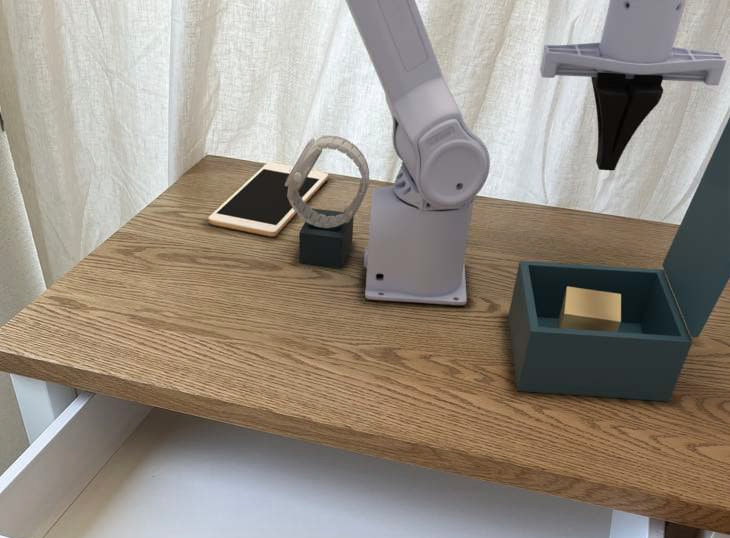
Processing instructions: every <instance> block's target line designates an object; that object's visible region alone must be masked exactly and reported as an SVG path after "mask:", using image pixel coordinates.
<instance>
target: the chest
mask: <svg viewBox="0 0 730 538" xmlns="http://www.w3.org/2000/svg"><path fill="white" fill-rule="evenodd" d="M517 266H518V267H517V272H516V277H515V281H514V287H513V291H512V297H511V301H510V306H509V310H508V316H507V321H508V329H509V337H510V345H511V353H512V362H513V369H514V378H515V385H516V392H525V393H526V392H527V393H539V394H540V393H542V394H553V395H554V394H555V395H569V396H583V397H597V398H610V399H612V398H613V399H614V398H615V399H625V400H626V399H627V400H640V401H641V400H642V401H657V402H670V399H671V397H672V395H673V392H674V390H675V387H676V385H677V382H678V379H679V377H680V375H681V372H682V370H683V368H684V364H685V362H686V359H687V357H688V354H689V352H690V349H691V347H692V345H693V340H692V339H693V338H692V337H691V336H690V333H689V331H688V328H687V326H686V323H685V321H684V318H683V316H682V313H681V311H680V308H679V306H678V303H677V301H676V298H675V296H674V293H673V291H672V288H671V286H670V283H669V281H668V278H667V276H666V273H665V271H664V268H663V269H662V268H648V267H647V268H645V267H631V266H630V267H629V266H616V265H615V266H614V265H599V264H597V265H596V264H585V263H584V264H581V263H567V262H566V263H565V262H550V261H549V262H548V261H536V260H535V261H533V260H519V262H518V265H517ZM567 287H575V288H582V289H589V290H596V291H603V292H610V293H617V294H621V323H620V326H619V329H618V332H606V331H591V330H576V329H561V328H556V327H557V323H558V319H559V316H560V312H561V308H562V304H563V300H564V296H565V292H566V288H567Z"/></svg>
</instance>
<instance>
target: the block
mask: <svg viewBox="0 0 730 538" xmlns="http://www.w3.org/2000/svg"><path fill="white" fill-rule="evenodd" d="M620 323H621V294H617V293H610V292H603V291H596V290H589V289H582V288H575V287H567V288H566V292H565V296H564V300H563V304H562V308H561V312H560V316H559V319H558V323H557V327H556V328H561V329H576V330H591V331H606V332H618V329H619V326H620Z"/></svg>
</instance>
